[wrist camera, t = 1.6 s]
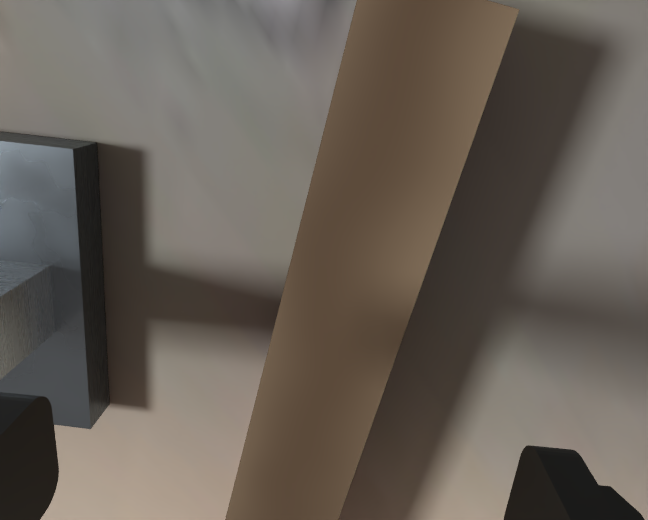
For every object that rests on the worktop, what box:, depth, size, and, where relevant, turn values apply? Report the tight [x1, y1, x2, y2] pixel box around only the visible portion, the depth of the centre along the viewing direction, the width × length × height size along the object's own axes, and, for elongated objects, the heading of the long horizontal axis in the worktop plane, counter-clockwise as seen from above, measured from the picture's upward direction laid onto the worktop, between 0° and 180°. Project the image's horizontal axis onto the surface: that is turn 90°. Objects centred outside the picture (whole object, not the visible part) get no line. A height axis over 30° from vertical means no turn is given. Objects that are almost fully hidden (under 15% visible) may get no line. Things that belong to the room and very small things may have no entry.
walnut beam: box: [225, 0, 519, 520], centre depth 17 cm, size 4×22×4 cm, turn 165°
